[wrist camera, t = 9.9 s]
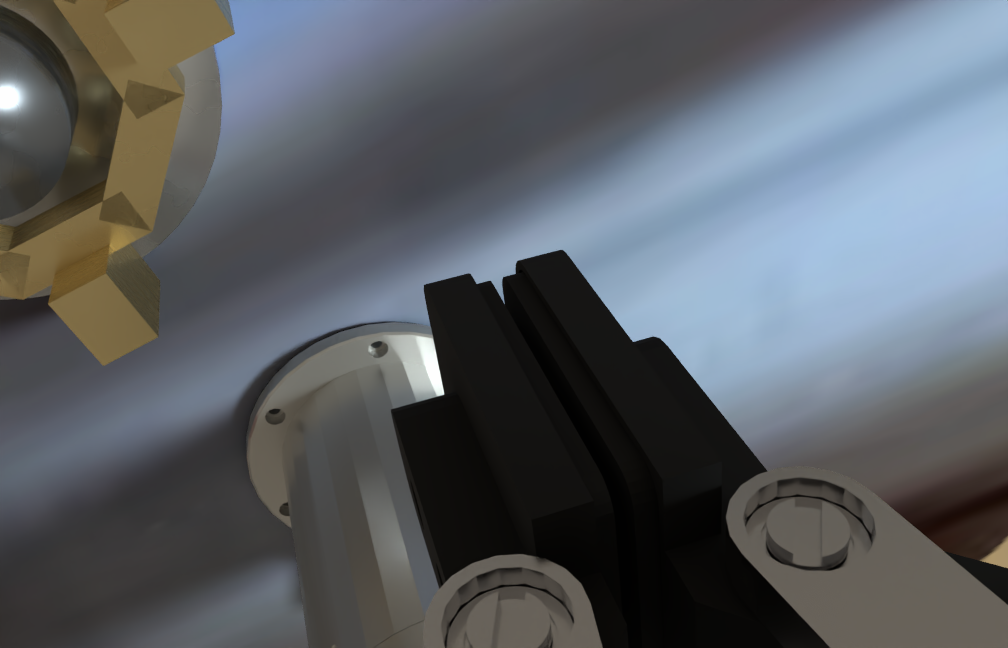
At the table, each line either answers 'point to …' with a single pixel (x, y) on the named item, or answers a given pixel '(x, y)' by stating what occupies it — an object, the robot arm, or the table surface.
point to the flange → (86, 122)
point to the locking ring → (116, 176)
